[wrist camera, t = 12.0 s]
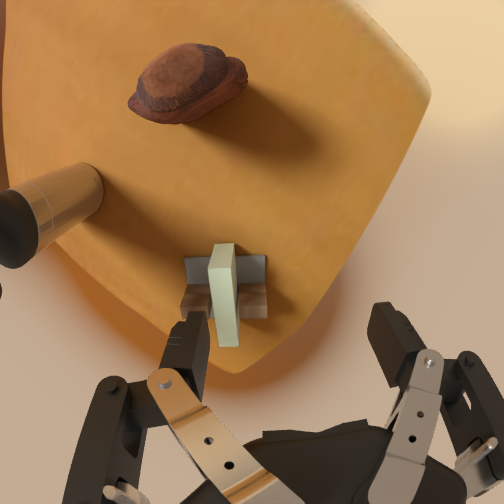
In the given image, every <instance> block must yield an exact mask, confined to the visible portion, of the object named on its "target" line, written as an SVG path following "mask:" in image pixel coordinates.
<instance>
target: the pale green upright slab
mask: <svg viewBox="0 0 504 504" xmlns="http://www.w3.org/2000/svg"><path fill="white" fill-rule="evenodd" d="M208 275H209V283H210V290H211V297H212V303H213V310H214V316H215V323H216V329H217V335H218V341H219V347H239V327H240V319H239V308H238V305H239V298H238V286H237V274H236V262H235V249H234V243H227V244H215V245H214V248H213V252H212V255H211V259H210V262H209V266H208Z"/></svg>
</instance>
